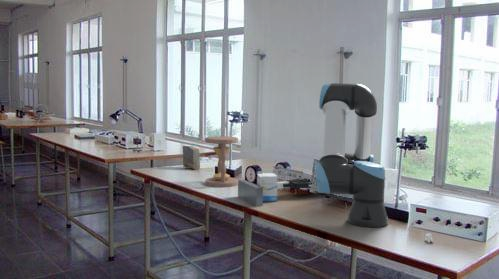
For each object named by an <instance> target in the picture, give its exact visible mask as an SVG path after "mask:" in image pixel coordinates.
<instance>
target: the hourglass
mask: <svg viewBox="0 0 499 279" xmlns="http://www.w3.org/2000/svg"><path fill="white" fill-rule="evenodd" d="M204 140H205V143H209V144H214V145H215V144H217V146H214V147H212V149H213V151H214V153H215V154H216V156H217V157H218V161H217V173H216V174H214V175H213V177H208V178H206V179H205V180H204V184H205V185H206V186H208V187H214V188H229V187H236V186H238V180H239V179H237V178H235V177H231V175H230V174H228V173H227V167H226V161H227V160H226V159H227V156H228V154H229V152H230V150H231V147H230V146H226V145H228V144H236V143H238V142H239V138H238V137H237V136H223V135H222V136H220V135H218V136H217V135H216V136H207V137H205V139H204Z"/></svg>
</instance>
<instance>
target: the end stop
mask: <svg viewBox="0 0 499 279" xmlns="http://www.w3.org/2000/svg"><path fill="white" fill-rule="evenodd" d="M237 180H238V184H237V197H238V198H241V199H242V200H244V201H246V202H247V203H249V204H252V205H253V206H255V207H260V206H261V207H262V206H264V205H263V202H264V201H263V187H261V186H258V185H257V183H256V184H255V183H254V182H251V181H249V180H245V179H237Z"/></svg>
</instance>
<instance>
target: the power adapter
mask: <svg viewBox="0 0 499 279" xmlns="http://www.w3.org/2000/svg"><path fill="white" fill-rule="evenodd" d="M424 236H425V238H424V241H425V242H428V243H430V242H431V243H434V238H433V237H432V236H433V234H432V233H425V234H424Z"/></svg>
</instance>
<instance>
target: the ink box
mask: <svg viewBox="0 0 499 279" xmlns="http://www.w3.org/2000/svg"><path fill="white" fill-rule="evenodd" d="M256 175H257V176H256V185H258V186H261V187H263V202H277V201H278V189H277V182H278V175H277V174H275V173H271V172H269V173H268V172H267V173H265V172H264V173H263V172H261V173H257V174H256Z"/></svg>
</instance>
